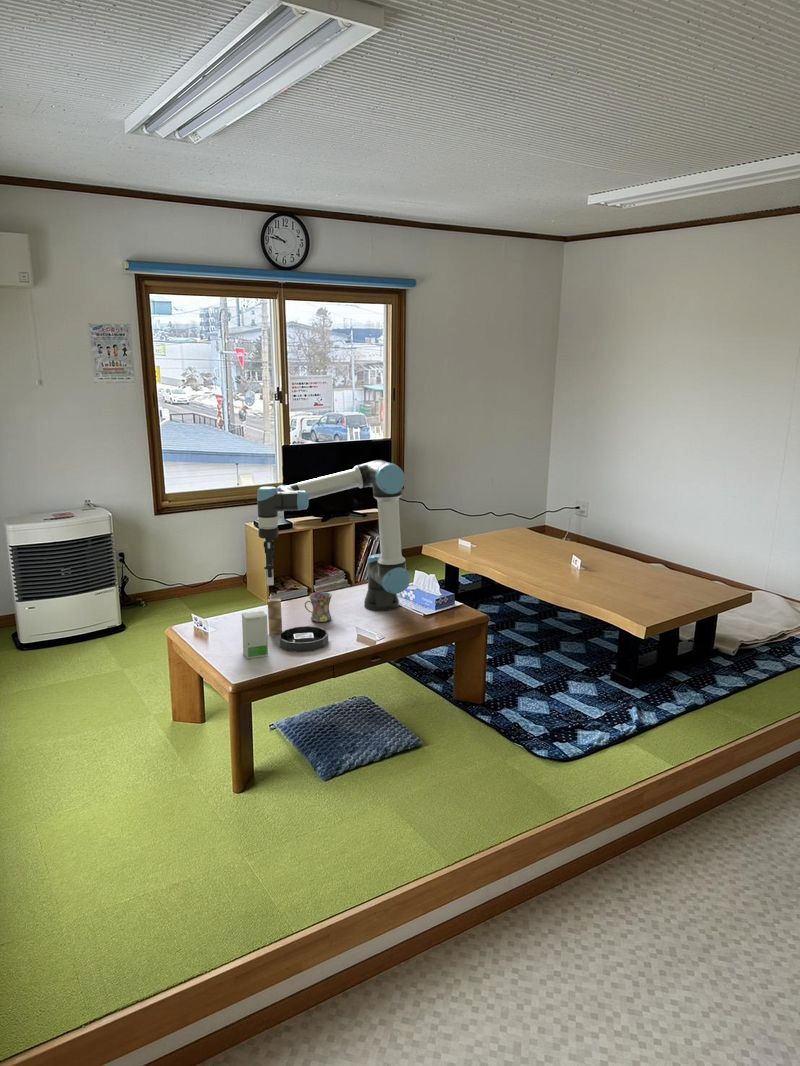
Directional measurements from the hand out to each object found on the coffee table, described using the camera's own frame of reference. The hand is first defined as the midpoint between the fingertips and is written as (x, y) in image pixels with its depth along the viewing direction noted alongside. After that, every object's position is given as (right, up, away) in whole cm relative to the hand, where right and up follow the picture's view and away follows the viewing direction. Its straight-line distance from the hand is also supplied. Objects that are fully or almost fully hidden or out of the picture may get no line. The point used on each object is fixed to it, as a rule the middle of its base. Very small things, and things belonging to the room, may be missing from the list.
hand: (269, 580), depth 293 cm
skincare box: (-2, -26, -19) cm, 32 cm away
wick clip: (+14, -23, -8) cm, 29 cm away
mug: (+17, -18, +17) cm, 30 cm away
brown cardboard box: (+2, -21, +2) cm, 21 cm away
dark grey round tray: (+14, -23, -8) cm, 29 cm away
